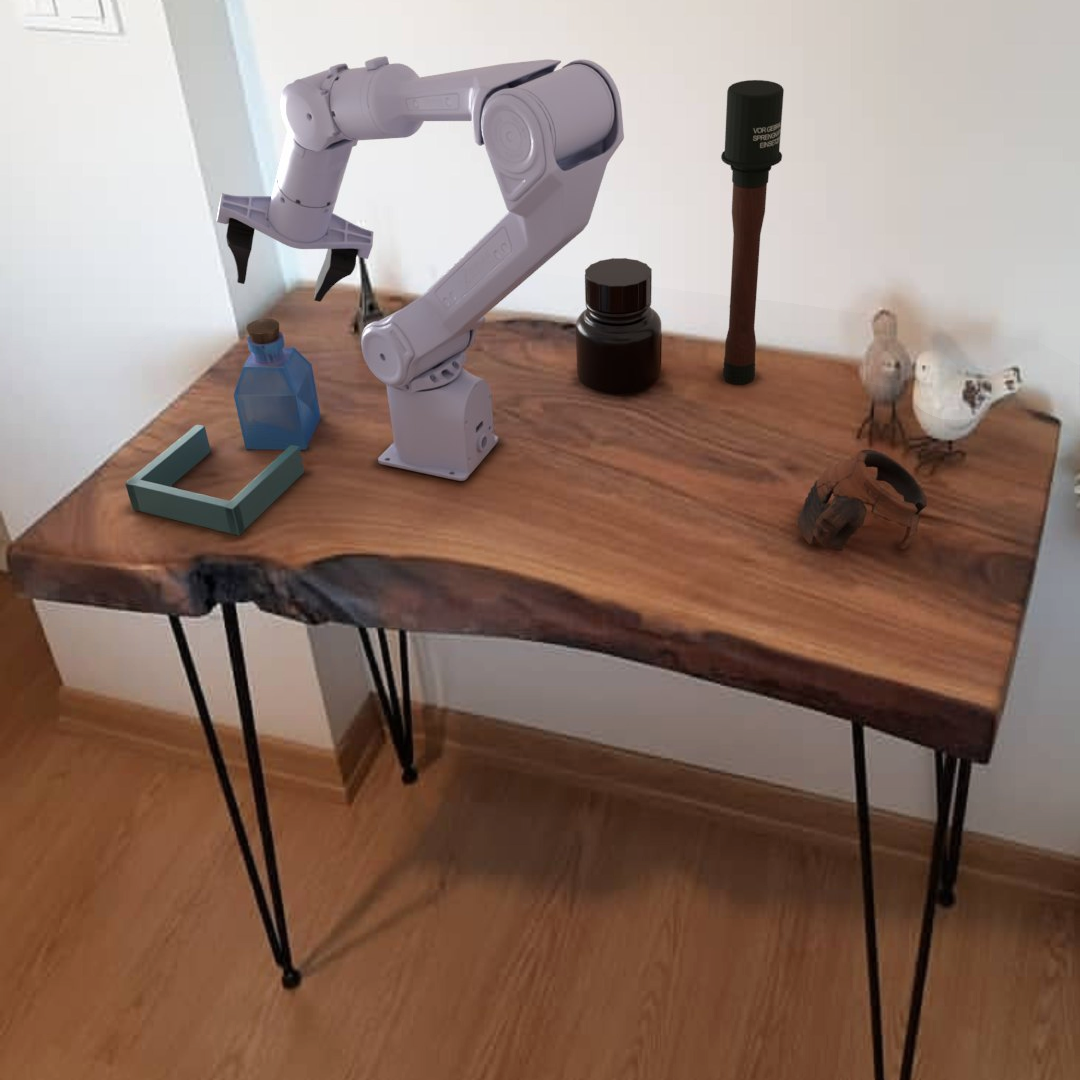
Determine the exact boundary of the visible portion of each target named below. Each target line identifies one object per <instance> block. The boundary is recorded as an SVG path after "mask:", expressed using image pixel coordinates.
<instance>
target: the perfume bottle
mask: <svg viewBox="0 0 1080 1080" xmlns="http://www.w3.org/2000/svg"><path fill="white" fill-rule="evenodd" d="M245 330H246V332H247V333H248V336H247V338H246V342H247V347H248V348H247V349H248V350H249V352H250V354H249V356H248V358H247V360H246V361H245V363H244V365H243V366H242V369H241V372H240V374H239V377H238V381H237V384H236V387H235V389H234V393H233V400H234V403H235V407H236V412H237V416H238V422H239V425H240V431H241V435H242V439H243V443H244V448H245V450H279V451H280V450H281V451H282V450H284V451H285V450H286V449H287V448H288V447H289V446H290V445H295V446H299V447H300V451H306V450H307V449H308V447H309V444H310V443H311V440H312V438H313V436H314V434H315V433H316V429H317V427H318V425H319V423H320V421H321V419H322V418H321V417H322V416H321V411H320V404H319V399H318V393H317V387H316V382H315V376H314V369H313V365H312V364H311V362H310V361H309V360H308V359H306V357H305V356H303V354H302V353H300V352H299V350H297V348H295V347H294V346H293V347H291V346H289V347H286V346H285V343H286V342H285V339H284V334H283V332H282V331H280V321H278V320H277V319H273V318H261V319H256V320H253V321H251V322H249V323H248V324H247V325H246V327H245Z"/></svg>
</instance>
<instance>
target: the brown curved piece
mask: <svg viewBox="0 0 1080 1080" xmlns="http://www.w3.org/2000/svg"><path fill="white" fill-rule="evenodd" d="M868 468H876V476H875V477H874V476H873V475H872V474H871V472H870V471H869V469H868ZM878 481H879V482H885V483H886V484H888V485H890V486H891V487H892V488H893V489H894V491H895V492H897V493H898V494H899V495H900V496H901V497H902V496H903V500H902V499H900V498H899V497H897V496H896V495H893V494H892V493H891V492H889V491H888V490H887V489H885V488H883V487H882V486H881V484H880V483H879V482H878ZM832 495H833V498H832ZM831 498H832V500H831V504H830V503H829V501H830V499H831ZM927 503H928V502H927V497H926V494H925V491H924V489H923V488H922V487H921V485H920V484H919V482H918V481H917V480H916V478H915V477H914V476H913V475H912V474H911V473H910V472H909V471H908V470H907V469H906V468H905V467H903V466H902V464H900V463H899V462H898V461H896V460H895V459H894V458H891V457H890V456H888V455H886V454H885V453H883V452H880V451H877V450H875V449H862V450H860V451H859V452H858V453H857V454H856V456H855V457H854V458H852V459H846V460H844V461H840V462H837V463H834V464H832V465H830V466H829V467H828V468H826V470H824V471H823V472H822V474H821V475H820V476H819V477H818V478H817V480H815V482H814V483H813V486H811V488H810V491H809V492H808V494H807V496H806V497H805V499H804V502H803V505H802V509H801V511H800V513H799V514H798V518H797V524H798V529H799V532H800V533H801V535H802V536H803V538H804V540H805V541H806V543H808V545H810V546H813V545H814V544H815V542H816V541H817V542H818V543H820V544H821V545H822V546H823V548H825V549H827V550H831V551H834V552H841V551H843V549H844V547H845V546H846V545H847V544H848V542H849V540H850V538H851V537H852V536H853V535H855V534H856V533H857V531H858V530H859V529H860V528H862V526H863V525H864V523H865V520H866V517H867V513H868V508H867V507H866V506H865V505H868V506H871V511H870V512H871V514H873V515H875V516H878V517H881V518H882V519H884V520H886V521H888V522H893V523H896V524H897V525H899V526H902V527H906V529H905V530H906V531H905V534H904V536H903V538H902V539H901V541H900V543H899V549H900V550H902V551H903V550H905V549H906V548H908V547H909V545H910V543H911V542H912V541H913V539H914V536H915V535H916V534H917V533H918V527H919V522H920V512H921V511H922V510H924V509H925V508H926V507H927Z"/></svg>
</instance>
